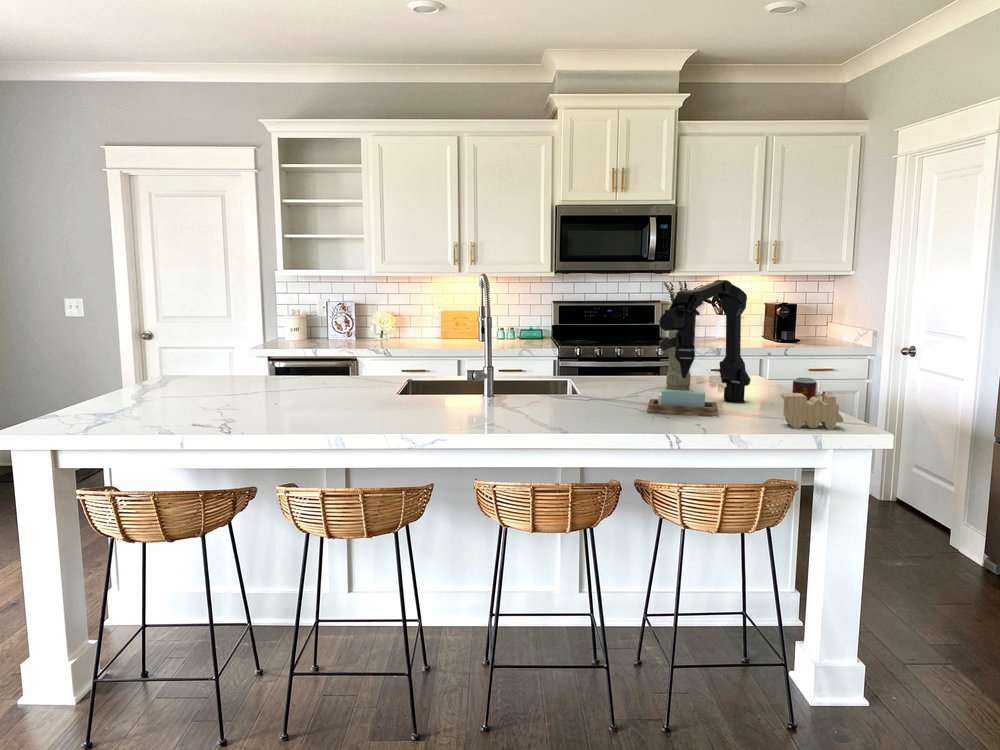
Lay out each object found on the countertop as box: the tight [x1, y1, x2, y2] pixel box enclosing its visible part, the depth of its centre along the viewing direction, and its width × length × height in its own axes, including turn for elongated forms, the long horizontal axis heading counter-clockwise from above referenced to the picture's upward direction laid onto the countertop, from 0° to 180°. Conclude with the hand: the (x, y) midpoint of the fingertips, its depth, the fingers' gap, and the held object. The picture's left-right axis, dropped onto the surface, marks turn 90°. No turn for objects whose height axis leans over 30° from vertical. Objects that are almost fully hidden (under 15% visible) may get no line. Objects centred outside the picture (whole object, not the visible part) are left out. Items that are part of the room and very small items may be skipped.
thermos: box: [666, 330, 691, 391], centre depth 275 cm, size 9×12×35 cm
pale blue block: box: [657, 389, 706, 407], centre depth 241 cm, size 15×5×6 cm, turn 75°
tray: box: [645, 398, 720, 417], centre depth 241 cm, size 23×13×2 cm, turn 75°
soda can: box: [791, 377, 818, 401], centre depth 234 cm, size 7×7×12 cm
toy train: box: [780, 392, 844, 430], centre depth 219 cm, size 6×17×10 cm, turn 82°
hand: (683, 376), depth 239 cm, fingers open, 9 cm apart
